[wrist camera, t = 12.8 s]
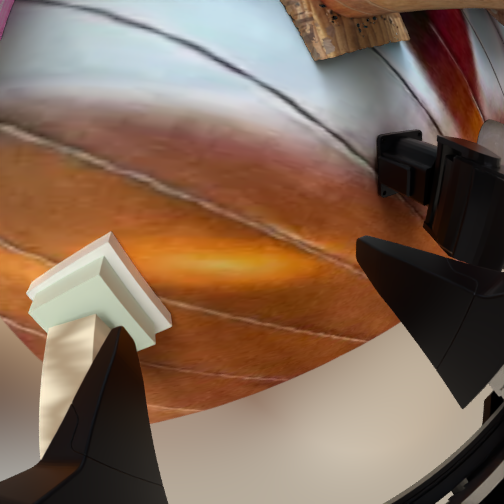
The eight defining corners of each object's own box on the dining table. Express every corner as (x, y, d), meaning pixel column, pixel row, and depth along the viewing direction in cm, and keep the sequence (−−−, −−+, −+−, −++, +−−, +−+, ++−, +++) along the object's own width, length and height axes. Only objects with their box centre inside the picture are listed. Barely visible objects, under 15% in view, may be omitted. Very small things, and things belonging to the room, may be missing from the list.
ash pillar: (95, 313, 17) (100, 490, 8) (130, 347, 20) (147, 492, 11) (48, 327, 16) (42, 481, 8) (84, 358, 20) (91, 489, 11)
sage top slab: (104, 255, 19) (99, 274, 17) (154, 323, 23) (155, 344, 21) (36, 293, 18) (28, 312, 16) (89, 349, 22) (86, 369, 20)
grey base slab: (112, 227, 20) (108, 241, 18) (170, 308, 26) (172, 326, 24) (34, 277, 20) (26, 293, 18) (95, 342, 25) (93, 360, 23)
